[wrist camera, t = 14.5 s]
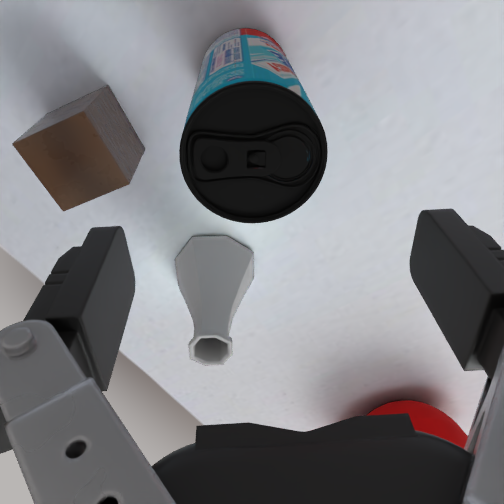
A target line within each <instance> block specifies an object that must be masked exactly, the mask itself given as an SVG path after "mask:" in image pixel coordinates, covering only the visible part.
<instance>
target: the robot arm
mask: <svg viewBox="0 0 504 504" xmlns="http://www.w3.org/2000/svg"><path fill="white" fill-rule="evenodd" d="M410 272H411V276H412V279H413V281H414V283H415V285H416V287H417V288H418V290H419V292H420V294H421V295H422V297H423V299H424V301H425V302H426V304H427V306H428V308H429V310H430V311H431V313H432V315H433V317H434V318H435V320H436V322H437V324H438V325H439V327H440V329H441V331H442V333H443V334H444V336H445V338H446V340H447V341H448V343H449V345H450V347H451V349H452V350H453V352H454V354H455V356H456V357H457V359H458V361H459V363H460V364H461V366H462V368H463V370H464V371H473V370H485V372H486V374H487V375H488V377H487V380H486V382H485V385H484V388H483V391H482V394H481V397H480V400H479V403H478V407H477V410H476V413H475V416H474V419H473V422H472V426H471V429H470V432H469V435H468V438H467V441H466V444H465V447H464V449H463V448H461V447H460V446H458V445H456V444H454V443H452V442H450V441H448V440H445V439H443V438H440V437H438V436H435V435H432V434H428V433H425V432H421V431H416V430H415V429H414V427H413V424H412V422H411V419H410V416H409V414H408V413H402V414H385V415H368V416H356V417H352V418H349V419H346V420H343V421H340V422H337V423H333V424H330V425H327V426H324V427H321V428H318V429H314V430H311V431H307V432H299V431H293V430H287V429H282V428H276V427H270V426H265V425H259V424H253V423H236V424H219V425H203V426H197V430H196V442H195V443H194V444H190V445H187V446H185V447H183V448H181V449H178V450H176V451H174V452H172V453H171V454H169V455H167V456H165V457H164V458H162V459H161V460H160V461H158V462H157V463H155V464H154V465H153V466H151V465H150V464H149V462H148V461H147V459H146V458H145V456H144V455H143V453H142V452H141V450H140V449H139V447H138V446H137V444H136V443H135V441H134V440H133V438H132V437H131V435H130V434H129V432H128V430H127V429H126V427H125V426H124V424H123V423H122V421H121V420H120V418H119V417H118V416H117V414H116V412H115V411H114V409H113V408H112V407H111V405H110V403H109V402H108V400H107V399H106V397H105V396H104V395H103V393H102V391H107V389H108V385H109V382H110V378H111V375H112V371H113V367H114V364H115V360H116V357H117V354H118V350H119V347H120V343H121V340H122V336H123V333H124V329H125V326H126V322H127V319H128V315H129V311H130V308H131V304H132V301H133V297H134V293H135V276H134V271H133V266H132V262H131V258H130V254H129V250H128V246H127V241H126V237H125V233H124V230H123V228H122V227H121V226H112V227H94V228H91V229H90V231H89V233H88V235H87V237H86V239H85V241H84V243H83V245H82V246H81V247H72V248H71V249H70V250H69V251H67V252H66V253H65V254H64V255H62V256H61V257H60V258H59V259H58V261H57V262H56V264H55V266H54V268H53V269H52V271H51V274H50V275H49V276H48V278H47V280H46V282H45V285H43V287H42V289H41V290H40V292H39V294H38V296H37V298H36V299H35V301H34V303H33V305H32V306H31V308H30V310H29V312H28V313H27V315H26V317H25V318H24V320H23V321H21V322H18V323H15V324H12V325H10V326H8V327H6V328H4V329H2V330H1V331H0V453H3V452H6V451H9V450H11V449H13V451H14V453H15V456H16V458H17V461H18V463H19V466H20V468H21V471H22V473H23V476H24V478H25V481H26V484H27V486H28V489H29V491H30V494H31V496H32V499H33V501H34V504H504V250H501V247H500V246H499V245H498V244H497V242H496V241H495V240H494V239H493V238H492V237H491V236H490V235H488V234H486V233H485V232H483V231H481V230H479V229H478V228H476V227H474V226H468V225H467V224H466V223H465V222H464V221H463V219H462V218H461V217H460V216H459V215H458V214H457V213H456V212H455V211H454V210H453V209H436V210H423V211H422V212H421V213H420V215H419V217H418V221H417V226H416V231H415V236H414V241H413V246H412V251H411V256H410Z"/></svg>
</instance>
